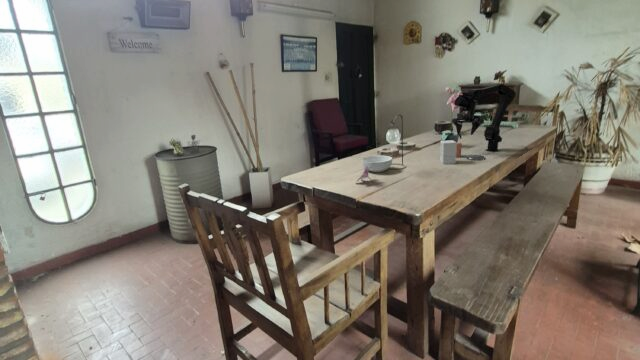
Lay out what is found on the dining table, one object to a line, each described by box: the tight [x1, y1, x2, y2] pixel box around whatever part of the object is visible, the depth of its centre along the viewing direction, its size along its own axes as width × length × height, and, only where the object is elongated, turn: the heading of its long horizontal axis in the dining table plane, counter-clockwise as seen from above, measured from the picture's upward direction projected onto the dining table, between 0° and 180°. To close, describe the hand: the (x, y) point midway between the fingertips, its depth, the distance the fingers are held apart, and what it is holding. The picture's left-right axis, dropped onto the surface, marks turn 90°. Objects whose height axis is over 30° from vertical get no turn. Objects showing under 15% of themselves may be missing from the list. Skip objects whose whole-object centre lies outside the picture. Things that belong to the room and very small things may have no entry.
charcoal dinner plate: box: [465, 154, 485, 161], centre depth 204 cm, size 10×10×1 cm
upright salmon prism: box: [455, 141, 463, 159], centre depth 210 cm, size 4×4×8 cm
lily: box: [356, 164, 374, 184], centre depth 171 cm, size 12×12×10 cm
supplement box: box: [439, 139, 457, 165], centre depth 198 cm, size 7×7×13 cm
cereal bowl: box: [361, 154, 393, 173], centre depth 191 cm, size 17×17×7 cm
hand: (464, 134), depth 207 cm, fingers open, 9 cm apart
